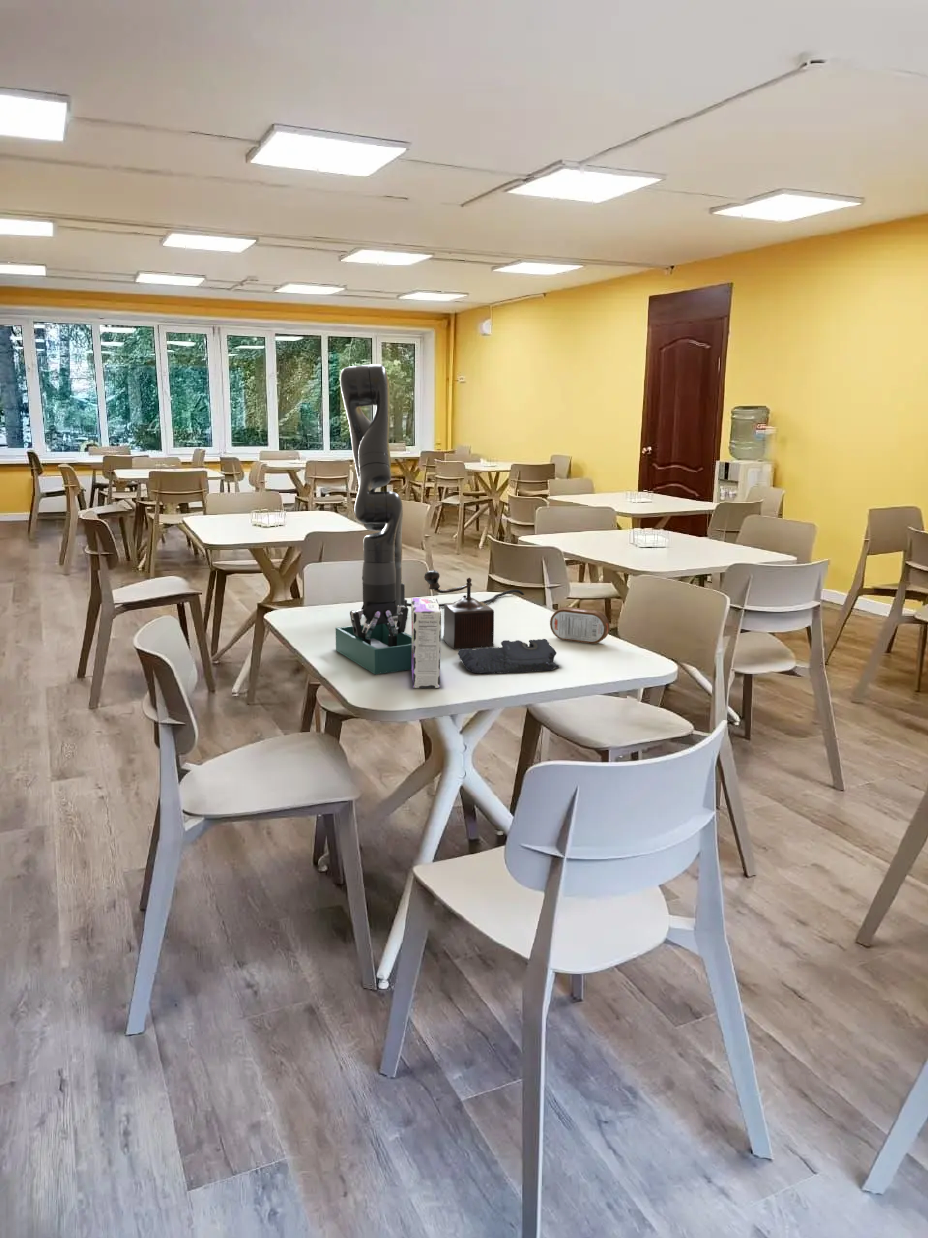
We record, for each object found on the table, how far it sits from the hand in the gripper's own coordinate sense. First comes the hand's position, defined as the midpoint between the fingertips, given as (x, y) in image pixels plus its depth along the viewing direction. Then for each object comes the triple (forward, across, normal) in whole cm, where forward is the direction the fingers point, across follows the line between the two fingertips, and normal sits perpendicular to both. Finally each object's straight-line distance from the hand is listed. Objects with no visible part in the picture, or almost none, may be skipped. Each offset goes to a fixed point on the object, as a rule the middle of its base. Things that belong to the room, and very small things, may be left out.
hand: (379, 652), depth 204 cm
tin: (+2, +51, -8) cm, 52 cm away
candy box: (+2, +2, -19) cm, 19 cm away
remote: (+1, 0, 0) cm, 1 cm away
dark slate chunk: (+2, +24, -17) cm, 29 cm away
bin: (+2, 0, 0) cm, 2 cm away
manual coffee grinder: (+2, +23, +4) cm, 23 cm away
